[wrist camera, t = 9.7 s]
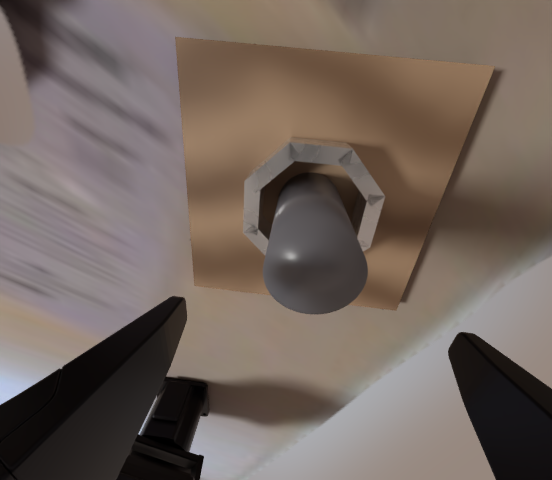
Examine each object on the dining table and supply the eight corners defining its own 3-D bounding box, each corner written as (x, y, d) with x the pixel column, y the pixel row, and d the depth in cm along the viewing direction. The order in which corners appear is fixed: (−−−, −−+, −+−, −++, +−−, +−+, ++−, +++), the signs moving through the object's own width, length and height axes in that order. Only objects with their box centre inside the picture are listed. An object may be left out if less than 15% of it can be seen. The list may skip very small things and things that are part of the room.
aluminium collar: (354, 259, 21) (361, 277, 19) (247, 246, 21) (241, 263, 19) (385, 146, 17) (398, 153, 15) (252, 132, 17) (245, 137, 15)
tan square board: (391, 301, 24) (396, 310, 23) (199, 278, 25) (194, 285, 24) (482, 68, 16) (494, 66, 14) (183, 41, 16) (175, 36, 15)
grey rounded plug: (333, 233, 20) (354, 319, 12) (275, 226, 20) (259, 307, 12) (345, 175, 18) (380, 235, 10) (281, 169, 18) (266, 222, 10)
